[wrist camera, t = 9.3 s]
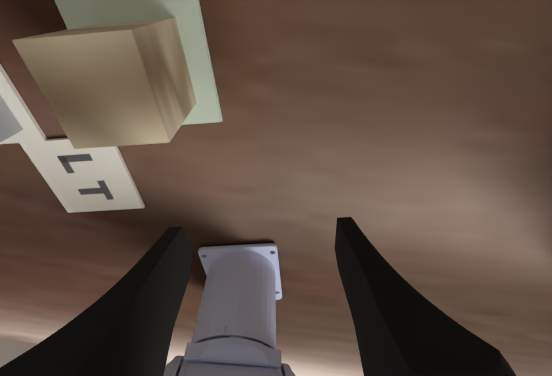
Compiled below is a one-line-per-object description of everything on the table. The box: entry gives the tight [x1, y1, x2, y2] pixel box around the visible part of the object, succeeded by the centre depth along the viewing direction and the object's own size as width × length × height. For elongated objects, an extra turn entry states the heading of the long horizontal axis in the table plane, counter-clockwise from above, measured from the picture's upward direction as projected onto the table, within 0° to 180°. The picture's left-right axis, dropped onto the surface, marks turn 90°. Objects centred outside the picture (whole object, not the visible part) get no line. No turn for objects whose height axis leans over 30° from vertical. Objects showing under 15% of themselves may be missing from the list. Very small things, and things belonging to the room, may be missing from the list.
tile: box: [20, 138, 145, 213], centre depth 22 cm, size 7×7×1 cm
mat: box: [54, 0, 223, 125], centre depth 17 cm, size 8×8×1 cm
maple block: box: [12, 17, 197, 149], centre depth 15 cm, size 5×5×6 cm
